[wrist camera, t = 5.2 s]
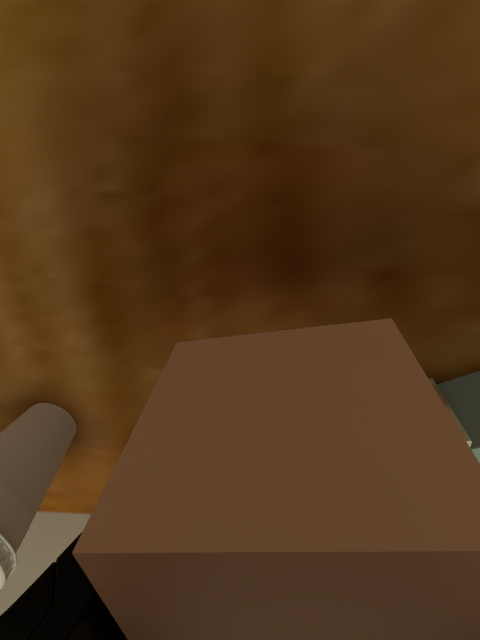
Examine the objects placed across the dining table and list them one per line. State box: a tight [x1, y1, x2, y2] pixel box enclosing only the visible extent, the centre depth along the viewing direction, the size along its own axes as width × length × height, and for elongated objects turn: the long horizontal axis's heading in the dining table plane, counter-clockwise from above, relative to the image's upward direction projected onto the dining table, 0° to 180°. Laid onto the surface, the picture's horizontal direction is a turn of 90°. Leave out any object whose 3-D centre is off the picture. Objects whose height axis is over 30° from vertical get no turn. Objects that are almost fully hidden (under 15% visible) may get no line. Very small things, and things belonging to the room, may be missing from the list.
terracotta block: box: [72, 318, 480, 640], centre depth 7 cm, size 5×5×5 cm
